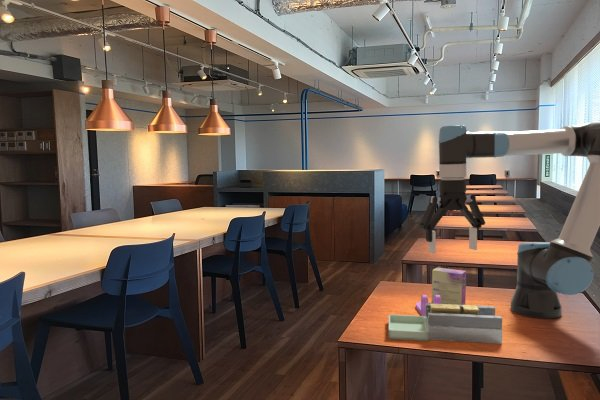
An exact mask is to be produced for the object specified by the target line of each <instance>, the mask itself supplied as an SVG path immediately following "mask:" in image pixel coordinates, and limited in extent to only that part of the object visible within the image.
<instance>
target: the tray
mask: <svg viewBox="0 0 600 400" xmlns="http://www.w3.org/2000/svg"><path fill="white" fill-rule="evenodd" d="M388 340H400V341H401V340H402V341H404V340H405V341H418V342H419V341H420V342H421V341H422V342H430V340H429V331H428V326H427V322H426V317H425V316H422V315H409V314H408V315H405V314H389V313H388Z"/></svg>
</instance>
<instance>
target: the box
mask: <svg viewBox="0 0 600 400" xmlns="http://www.w3.org/2000/svg"><path fill="white" fill-rule="evenodd" d="M431 272H432V274H431V303H432V304H434V295H440V297H441V304H454V305H466V297H467V295H466V294H467V290H466V289H467V270H461V269H453V268H452V269H451V268H444V267H435V268H433V269H432V271H431Z"/></svg>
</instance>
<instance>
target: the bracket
mask: <svg viewBox="0 0 600 400" xmlns="http://www.w3.org/2000/svg"><path fill="white" fill-rule="evenodd" d="M426 303H431V304H441V297H440V295H434V303H432V302H429V297H428V295H427V294H421V296H420V301H418V302H416V303H415V308H416V310H417V311H418V312H419V314H420V316H425V317H426Z"/></svg>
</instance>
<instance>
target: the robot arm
mask: <svg viewBox="0 0 600 400" xmlns="http://www.w3.org/2000/svg"><path fill="white" fill-rule="evenodd" d="M549 154H561V155H562V156H564V157H585V158H586V159H587V160H588V162H589V166H588V168H587V171H586V173H585V175H584V177H583V180H582V182H581V185H580V187H579V189H578V192H577V194H576V196H575V198H574V200H573V202H572V205H571V208H570V211H569V212H568V215H567V217H566V220H565V222H564V224H563V226H562V229H561V232H560V234H559V236H558V238H555V239H553V240H551V241H549V242H548V241H533V242H532V241H531V242H529V241H527V242H520V243H519V245H518V246H517V247H518V248H517V252H516V253H517V254H516V255H517V266H516V267H517V268H516V269H517V272H516V273H517V274H516V287H515V291H514V293H513V295H512V298H511V300H510V311H512V312H513V313H514V314H517V315H521V316H523V317H528V318H535V319H556V318H560V317H561V316H562V311H563V310H562V304H561V301H560V298H559V295H558V293H559V294H562V295H565V296H566V295H567V296H575V295H578V294H582V293H583V292H584V291H586V290H587V289H588V288H589V287H590V286H591V284H592V282H593V281H594V280H593V279H594V276H595V275H594V270H593V266H592V264H591V262H592V260H593V257H594V256H593V254H592V252H591V247H592V245H593V243H594V240H595V238H596V236H597V233H598V231H599V228H600V120H596V121H595V120H594V121H590V122H585V123H581V124H576V125H575V124H574V125H564V126H562V128H560V129H542V130H541V129H539V130H522V131H521V130H520V131H503V130H502V131H501V130H500V131H499V130H498V131H497V130H493V131H492V130H491V131H468V130H467V126H466V125H464V124H453V125H452V124H451V125H442V126H441V127H440V128H439V134H438V155H439V157H438V159H439V161H438V163H439V165H438V167H439V168H438V169H439V171H438V172H439V176H438V177H439V179H440V180H439V181H438V182H439V183H438V185H439V186H438V187H439V188H438V191H439V196H438V197H437V196H433V195H431V196H429V200H428V201H429V203H428V206H427V207H426V209H425V213H424V214H423V217H422V220H421V221H420V224H419V228H420V229H423V230H425V240H426V242H428V252H429V253H431V254H433V255H434V254H436V253H437V252H436V248H437V247H436V245H437V243H436V241H437V240H436V239H437V238H436V236H437V234H436V231H435V230H434V229H435V228H436V227H437V225H438V223H440V221H441V219H443V217H444V215H445V214H446V213H447V212H454V211H457V212H461V214H462V216H463V217H464V218H465V220H467V222H469V224H470V225H471V226H469V227H468V228H469V229H468V236H469V237H468V238H469V239H468V240H469V241H468V242H469V243H468V248H469V249H470V250H474V251H477V250H478V238H480V229H481V228H482V226H485V225H486V221H485V219H484V216H483V214H482V211H481V210H480V207H479V206H478V203H477V197H476V194H472V193H471V194H470V193H468V194H467V195H466V192H467V180H466V179H465V178H467V159H473V158H475V159H477V158H482V159H484V158H494V159H495V158H501V157H505V156H506V157H507V156H509V157H510V156H526V155H528V156H529V155H549ZM466 202H467V204H468V206H469V207H468V206H467V205H466V204H465V203H466ZM439 203H440V204H439ZM438 204H439V206H437V205H438ZM437 207H438V208H437ZM469 208H470V210H469ZM436 209H437V210H436ZM435 210H436V211H435Z"/></svg>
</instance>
